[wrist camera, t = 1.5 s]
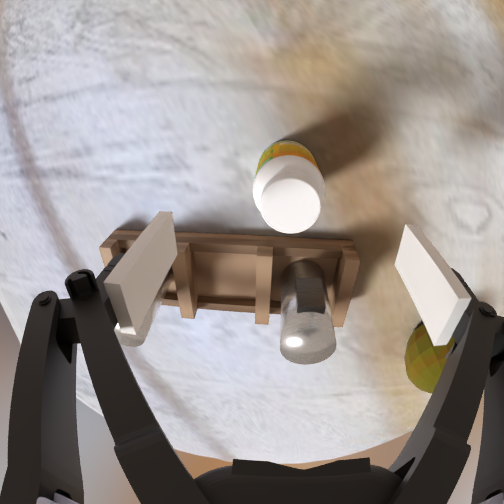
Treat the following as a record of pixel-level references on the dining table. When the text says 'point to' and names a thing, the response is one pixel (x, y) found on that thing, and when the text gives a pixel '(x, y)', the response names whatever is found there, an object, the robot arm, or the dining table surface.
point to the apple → (425, 359)
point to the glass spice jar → (149, 318)
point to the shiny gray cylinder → (305, 314)
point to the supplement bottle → (288, 187)
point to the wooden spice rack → (246, 270)
